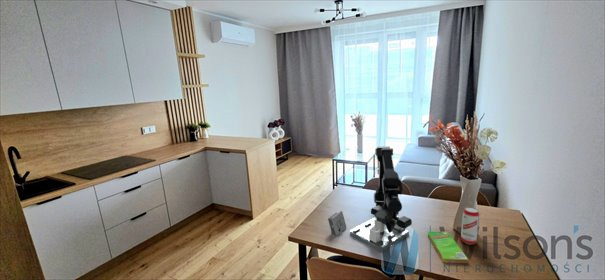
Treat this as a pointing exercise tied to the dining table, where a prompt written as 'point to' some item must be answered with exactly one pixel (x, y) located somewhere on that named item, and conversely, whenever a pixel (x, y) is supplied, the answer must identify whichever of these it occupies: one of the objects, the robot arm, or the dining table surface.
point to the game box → (447, 247)
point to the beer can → (470, 225)
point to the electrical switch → (337, 223)
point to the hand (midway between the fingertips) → (389, 232)
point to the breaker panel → (385, 236)
